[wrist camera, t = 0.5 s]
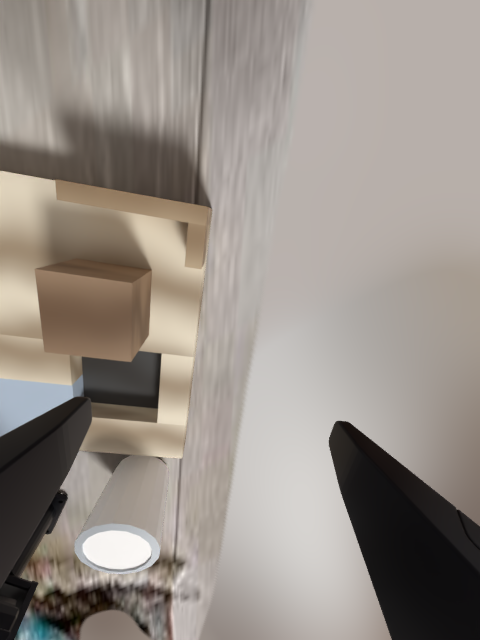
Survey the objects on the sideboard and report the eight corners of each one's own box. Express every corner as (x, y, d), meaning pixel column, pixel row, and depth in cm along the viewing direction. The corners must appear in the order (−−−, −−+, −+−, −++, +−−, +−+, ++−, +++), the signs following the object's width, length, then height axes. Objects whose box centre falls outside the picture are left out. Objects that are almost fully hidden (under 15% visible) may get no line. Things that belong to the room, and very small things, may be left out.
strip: (87, 437, 25) (71, 462, 23) (16, 431, 25) (-9, 456, 22) (83, 372, 23) (65, 392, 20) (4, 364, 22) (-26, 383, 19)
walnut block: (149, 334, 20) (131, 362, 16) (79, 326, 19) (44, 352, 15) (151, 270, 18) (132, 283, 14) (75, 258, 17) (34, 268, 14)
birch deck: (185, 441, 26) (177, 483, 22) (15, 427, 24) (-28, 470, 20) (212, 209, 18) (208, 206, 14) (-33, 165, 17) (-120, 147, 13)
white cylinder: (96, 461, 27) (55, 540, 20) (156, 441, 26) (133, 515, 19) (130, 502, 29) (103, 584, 22) (186, 484, 28) (174, 562, 22)
